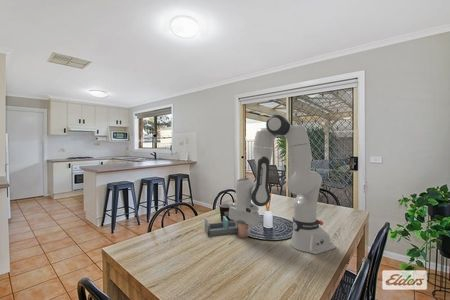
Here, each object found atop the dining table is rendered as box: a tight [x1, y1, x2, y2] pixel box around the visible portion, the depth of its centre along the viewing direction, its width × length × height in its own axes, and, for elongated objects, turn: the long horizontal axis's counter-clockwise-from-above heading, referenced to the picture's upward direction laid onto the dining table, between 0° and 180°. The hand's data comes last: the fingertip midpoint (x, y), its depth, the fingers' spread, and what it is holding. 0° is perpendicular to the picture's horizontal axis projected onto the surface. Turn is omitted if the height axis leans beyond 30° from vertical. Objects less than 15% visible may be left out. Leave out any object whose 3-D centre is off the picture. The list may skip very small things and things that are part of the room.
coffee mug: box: [219, 203, 231, 222], centre depth 153 cm, size 12×9×10 cm
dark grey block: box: [204, 218, 238, 237], centre depth 134 cm, size 20×11×6 cm, turn 105°
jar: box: [237, 220, 250, 239], centre depth 127 cm, size 6×6×9 cm
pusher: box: [222, 216, 229, 229], centre depth 135 cm, size 1×8×7 cm, turn 15°
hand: (243, 229), depth 127 cm, fingers closed on jar, 6 cm apart
